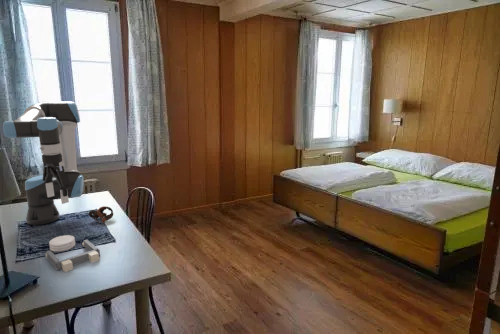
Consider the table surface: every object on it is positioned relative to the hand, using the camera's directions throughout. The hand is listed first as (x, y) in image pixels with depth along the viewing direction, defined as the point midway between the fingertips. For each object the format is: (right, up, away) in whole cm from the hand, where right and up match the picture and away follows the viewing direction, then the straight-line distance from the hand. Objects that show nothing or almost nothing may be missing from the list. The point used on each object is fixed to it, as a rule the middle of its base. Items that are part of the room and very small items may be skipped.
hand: (58, 199), depth 151 cm
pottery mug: (+8, -14, +27) cm, 31 cm away
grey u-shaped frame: (+14, -23, -12) cm, 29 cm away
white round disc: (+4, -21, -3) cm, 21 cm away
